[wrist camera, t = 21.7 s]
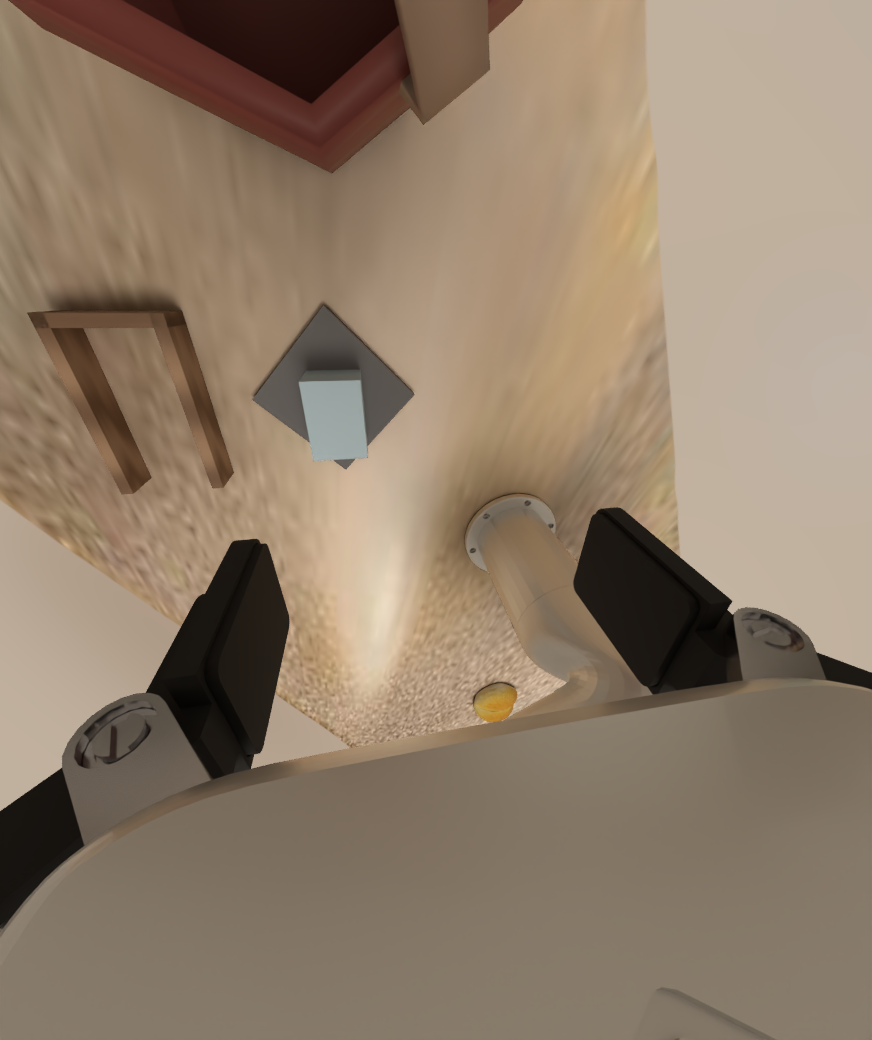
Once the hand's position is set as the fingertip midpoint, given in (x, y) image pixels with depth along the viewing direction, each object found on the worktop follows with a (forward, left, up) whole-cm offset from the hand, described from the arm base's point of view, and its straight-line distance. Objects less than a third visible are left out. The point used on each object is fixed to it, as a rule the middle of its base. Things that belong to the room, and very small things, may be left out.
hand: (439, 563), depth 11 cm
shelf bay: (+13, +17, -30) cm, 37 cm away
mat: (+2, +5, -30) cm, 31 cm away
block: (+1, +6, -30) cm, 30 cm away
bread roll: (-55, +31, -31) cm, 70 cm away
